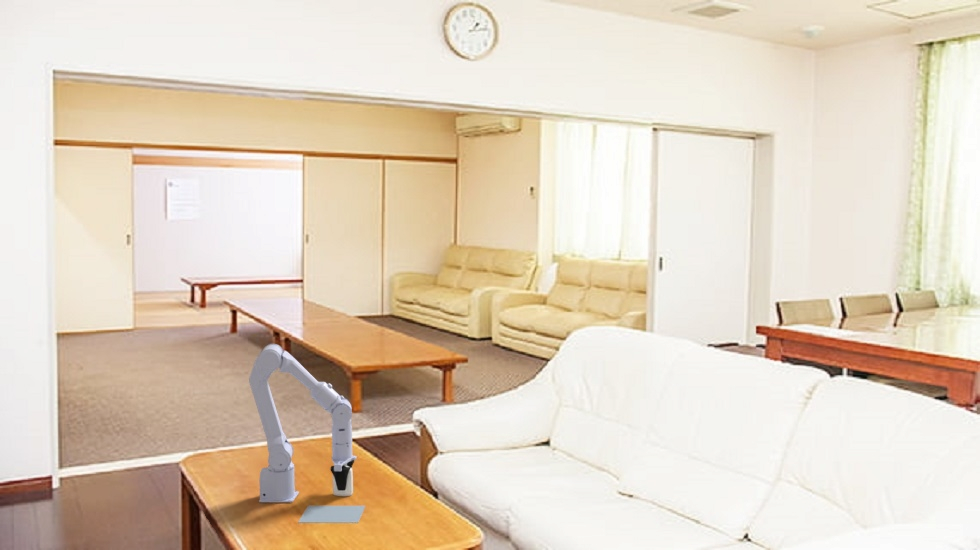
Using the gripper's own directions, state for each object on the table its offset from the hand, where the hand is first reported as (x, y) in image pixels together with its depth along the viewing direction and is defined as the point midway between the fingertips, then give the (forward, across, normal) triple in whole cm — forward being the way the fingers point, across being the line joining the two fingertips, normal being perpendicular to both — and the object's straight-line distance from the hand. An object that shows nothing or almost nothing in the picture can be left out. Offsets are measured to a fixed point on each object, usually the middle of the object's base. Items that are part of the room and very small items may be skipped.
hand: (343, 487), depth 236 cm
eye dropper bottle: (+2, 0, 0) cm, 2 cm away
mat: (+2, -15, 0) cm, 15 cm away
